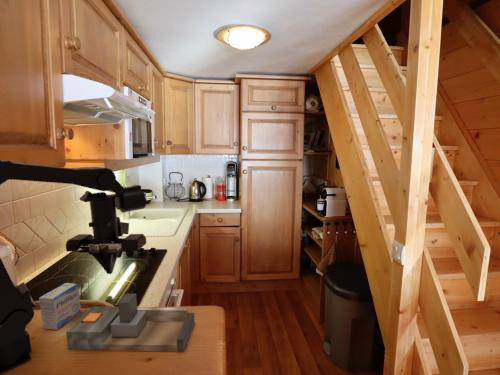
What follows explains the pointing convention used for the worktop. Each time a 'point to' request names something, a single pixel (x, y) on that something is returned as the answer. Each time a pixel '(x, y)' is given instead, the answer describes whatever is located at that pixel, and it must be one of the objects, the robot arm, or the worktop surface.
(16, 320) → the robot arm
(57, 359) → the worktop surface
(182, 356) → the worktop surface
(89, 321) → the button
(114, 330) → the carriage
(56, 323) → the medicine box
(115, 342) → the rail
